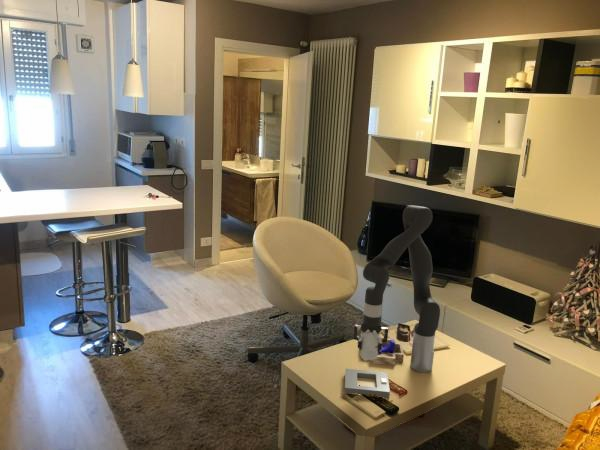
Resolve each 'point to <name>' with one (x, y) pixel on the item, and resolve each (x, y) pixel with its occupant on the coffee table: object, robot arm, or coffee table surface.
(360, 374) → the socket plate
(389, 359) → the tray
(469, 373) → the coffee table surface
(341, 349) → the coffee table surface
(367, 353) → the skincare box
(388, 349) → the cable clip
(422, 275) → the robot arm
